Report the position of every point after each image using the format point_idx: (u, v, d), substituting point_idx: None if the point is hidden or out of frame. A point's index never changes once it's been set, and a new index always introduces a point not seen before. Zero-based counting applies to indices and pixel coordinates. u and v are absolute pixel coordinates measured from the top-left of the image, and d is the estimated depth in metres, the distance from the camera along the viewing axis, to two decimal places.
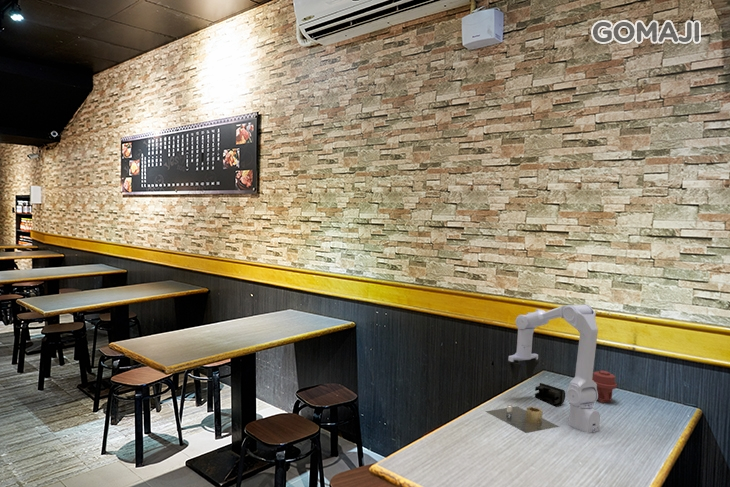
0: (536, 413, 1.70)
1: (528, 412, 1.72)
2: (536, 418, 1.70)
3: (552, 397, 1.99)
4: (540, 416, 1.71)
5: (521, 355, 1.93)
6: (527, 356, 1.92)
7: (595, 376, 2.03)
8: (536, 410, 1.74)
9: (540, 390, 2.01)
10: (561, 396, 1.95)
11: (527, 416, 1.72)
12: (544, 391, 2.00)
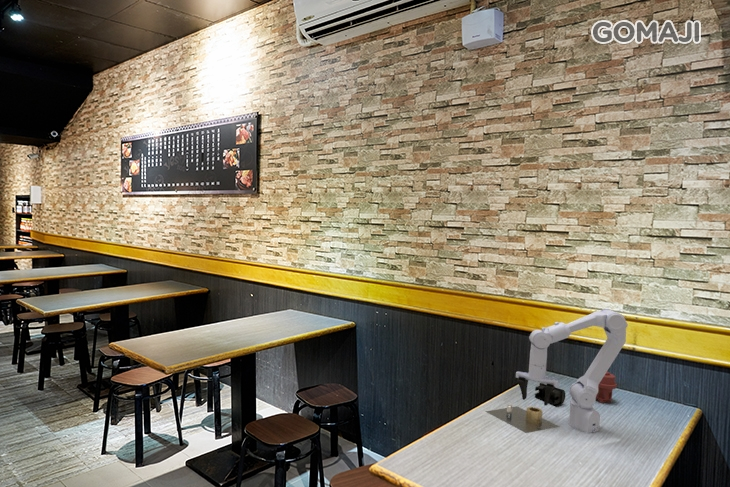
0: (536, 413, 1.70)
1: (528, 412, 1.72)
2: (536, 418, 1.70)
3: (552, 397, 1.99)
4: (540, 416, 1.71)
5: (528, 374, 1.73)
6: (532, 376, 1.71)
7: None
8: (536, 410, 1.74)
9: (540, 390, 2.01)
10: (561, 396, 1.95)
11: (527, 416, 1.72)
12: (544, 391, 2.00)
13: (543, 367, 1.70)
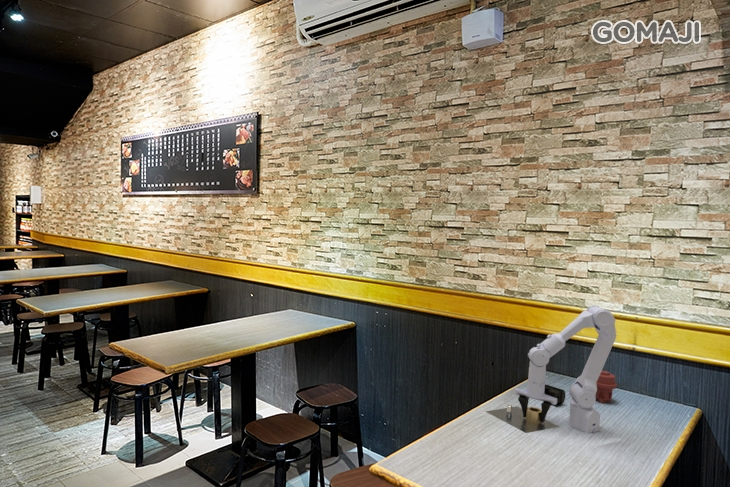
0: (536, 413, 1.70)
1: (528, 412, 1.72)
2: (536, 418, 1.70)
3: None
4: (540, 416, 1.71)
5: (527, 391, 1.73)
6: (530, 394, 1.71)
7: None
8: (536, 410, 1.74)
9: None
10: (561, 396, 1.95)
11: (527, 416, 1.72)
12: (544, 391, 2.00)
13: (542, 385, 1.70)
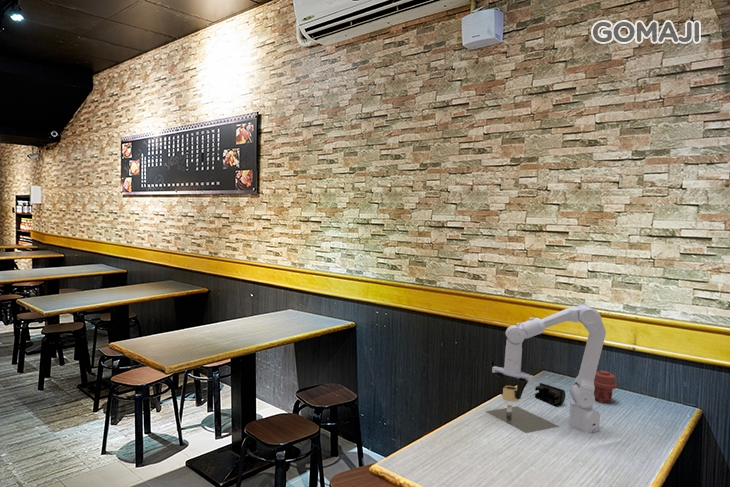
0: (511, 391, 1.73)
1: (504, 390, 1.75)
2: (511, 396, 1.73)
3: (552, 397, 1.99)
4: (516, 394, 1.73)
5: (504, 369, 1.76)
6: (506, 371, 1.73)
7: (595, 376, 2.03)
8: (513, 389, 1.76)
9: (540, 390, 2.01)
10: (561, 396, 1.95)
11: (503, 394, 1.75)
12: (544, 391, 2.00)
13: (517, 362, 1.72)
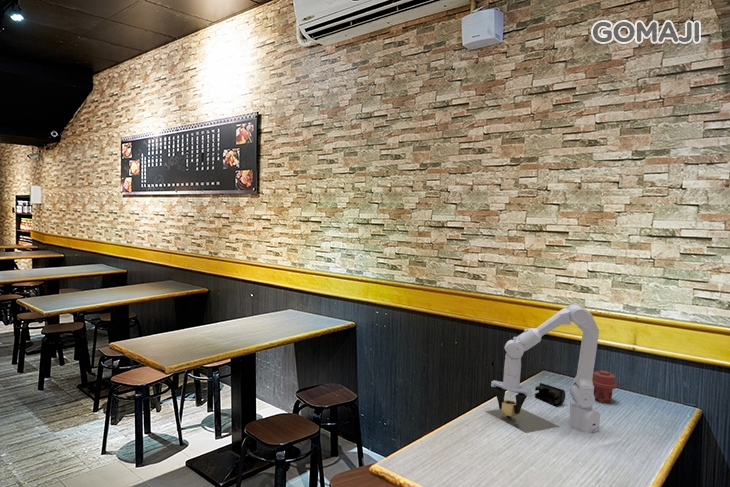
0: (510, 406, 1.73)
1: (503, 405, 1.75)
2: (510, 411, 1.73)
3: (552, 397, 1.99)
4: (515, 409, 1.73)
5: (503, 383, 1.76)
6: (505, 386, 1.74)
7: (595, 376, 2.03)
8: (512, 403, 1.77)
9: (540, 390, 2.01)
10: (561, 396, 1.95)
11: (502, 408, 1.75)
12: (544, 391, 2.00)
13: (516, 377, 1.72)
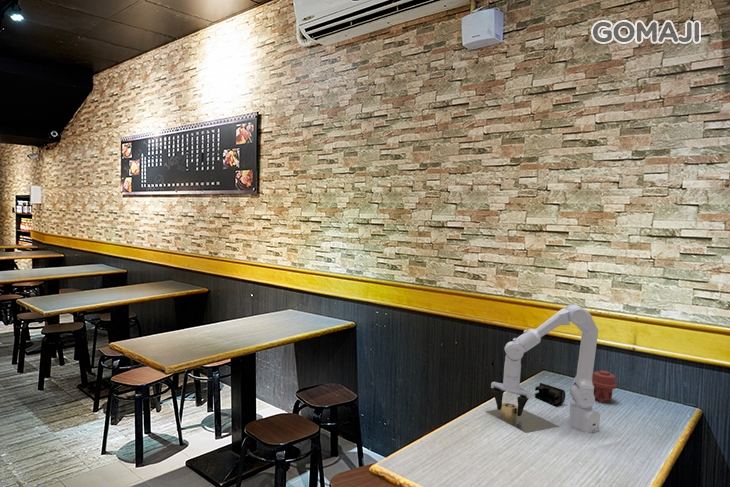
0: (510, 409, 1.73)
1: (503, 408, 1.75)
2: (510, 414, 1.73)
3: (552, 397, 1.99)
4: (514, 412, 1.73)
5: (503, 385, 1.76)
6: (505, 387, 1.74)
7: (595, 376, 2.03)
8: (512, 406, 1.77)
9: (540, 390, 2.01)
10: (561, 396, 1.95)
11: (502, 412, 1.75)
12: (544, 391, 2.00)
13: (516, 378, 1.72)
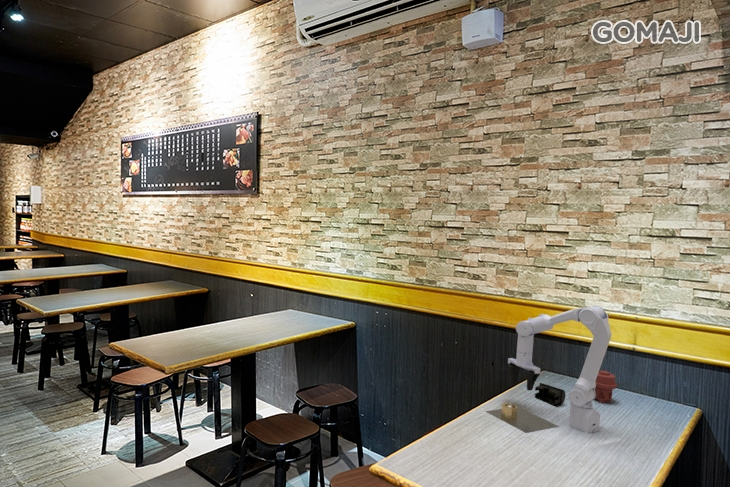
0: (510, 409, 1.73)
1: (503, 408, 1.75)
2: (510, 414, 1.73)
3: (552, 397, 1.99)
4: (514, 412, 1.73)
5: None
6: (516, 362, 1.85)
7: None
8: (512, 406, 1.77)
9: (540, 390, 2.01)
10: (561, 396, 1.95)
11: (502, 412, 1.75)
12: (544, 391, 2.00)
13: (526, 354, 1.83)
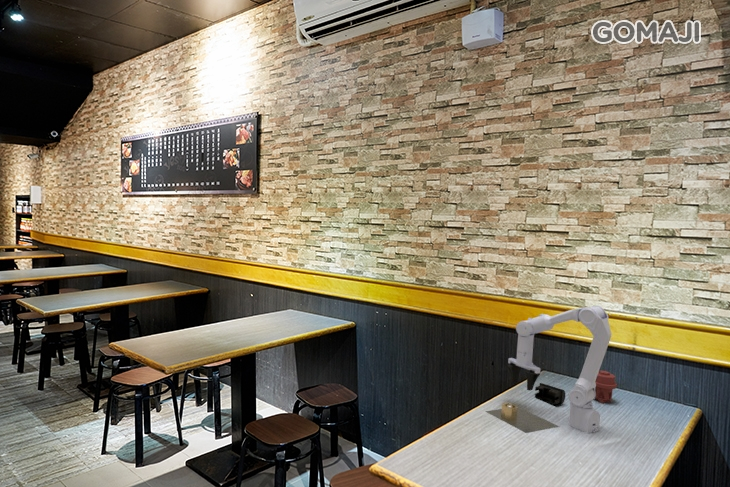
0: (510, 409, 1.73)
1: (503, 408, 1.75)
2: (510, 414, 1.73)
3: (552, 397, 1.99)
4: (514, 412, 1.73)
5: None
6: (517, 362, 1.85)
7: None
8: (512, 406, 1.77)
9: (540, 390, 2.01)
10: (561, 396, 1.95)
11: (502, 412, 1.75)
12: (544, 391, 2.00)
13: (526, 354, 1.83)
